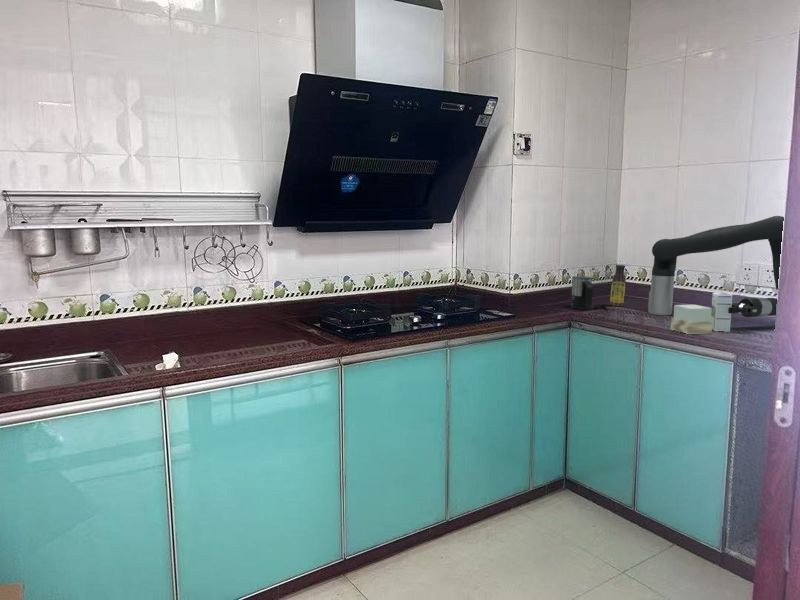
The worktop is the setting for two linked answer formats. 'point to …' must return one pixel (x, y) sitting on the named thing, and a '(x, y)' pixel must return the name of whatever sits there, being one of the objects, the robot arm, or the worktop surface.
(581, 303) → the milk frother
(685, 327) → the bottom block
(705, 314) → the top block
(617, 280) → the sauce bottle
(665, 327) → the worktop surface
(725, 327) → the syrup box
